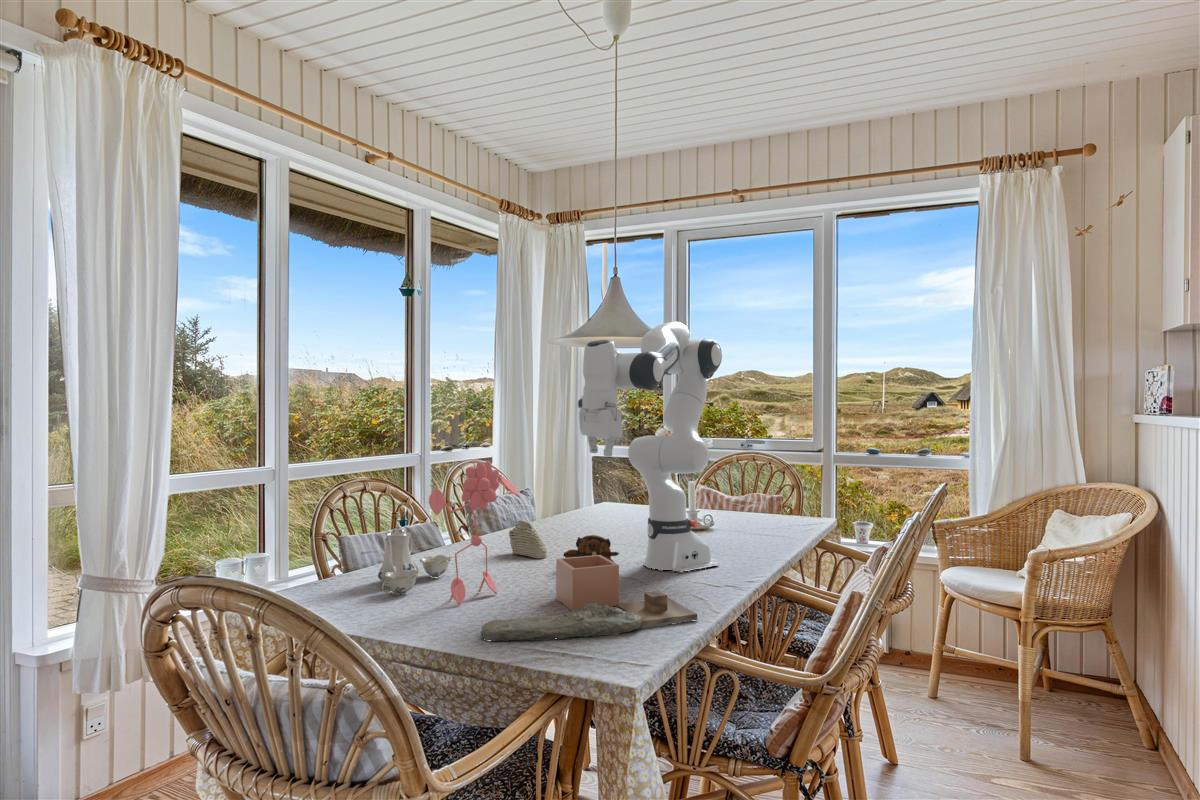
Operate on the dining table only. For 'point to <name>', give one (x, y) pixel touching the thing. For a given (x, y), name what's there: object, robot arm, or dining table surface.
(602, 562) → the terracotta box
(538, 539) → the fossil tooth
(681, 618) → the walnut lid
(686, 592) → the dining table surface
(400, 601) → the dining table surface
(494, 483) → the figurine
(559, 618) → the long grey stone
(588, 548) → the wooden carving
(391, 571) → the chinaware
